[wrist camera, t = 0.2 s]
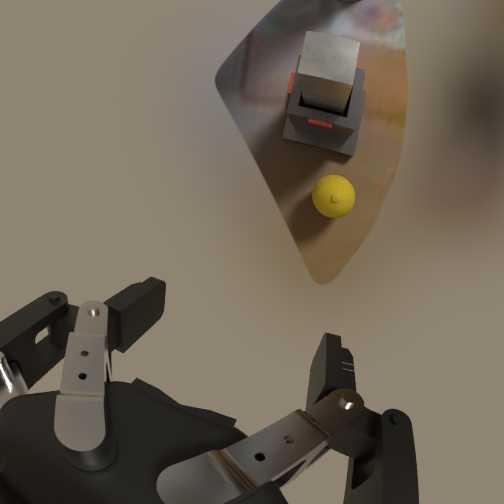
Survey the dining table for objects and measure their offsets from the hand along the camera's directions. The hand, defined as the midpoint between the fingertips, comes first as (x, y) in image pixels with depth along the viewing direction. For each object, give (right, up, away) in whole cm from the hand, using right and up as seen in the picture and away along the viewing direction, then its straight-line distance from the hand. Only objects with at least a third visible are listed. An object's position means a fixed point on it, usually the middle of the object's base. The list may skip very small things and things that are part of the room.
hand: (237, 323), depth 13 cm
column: (+11, +22, +20) cm, 32 cm away
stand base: (+11, +23, +22) cm, 33 cm away
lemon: (+12, +11, +25) cm, 30 cm away
